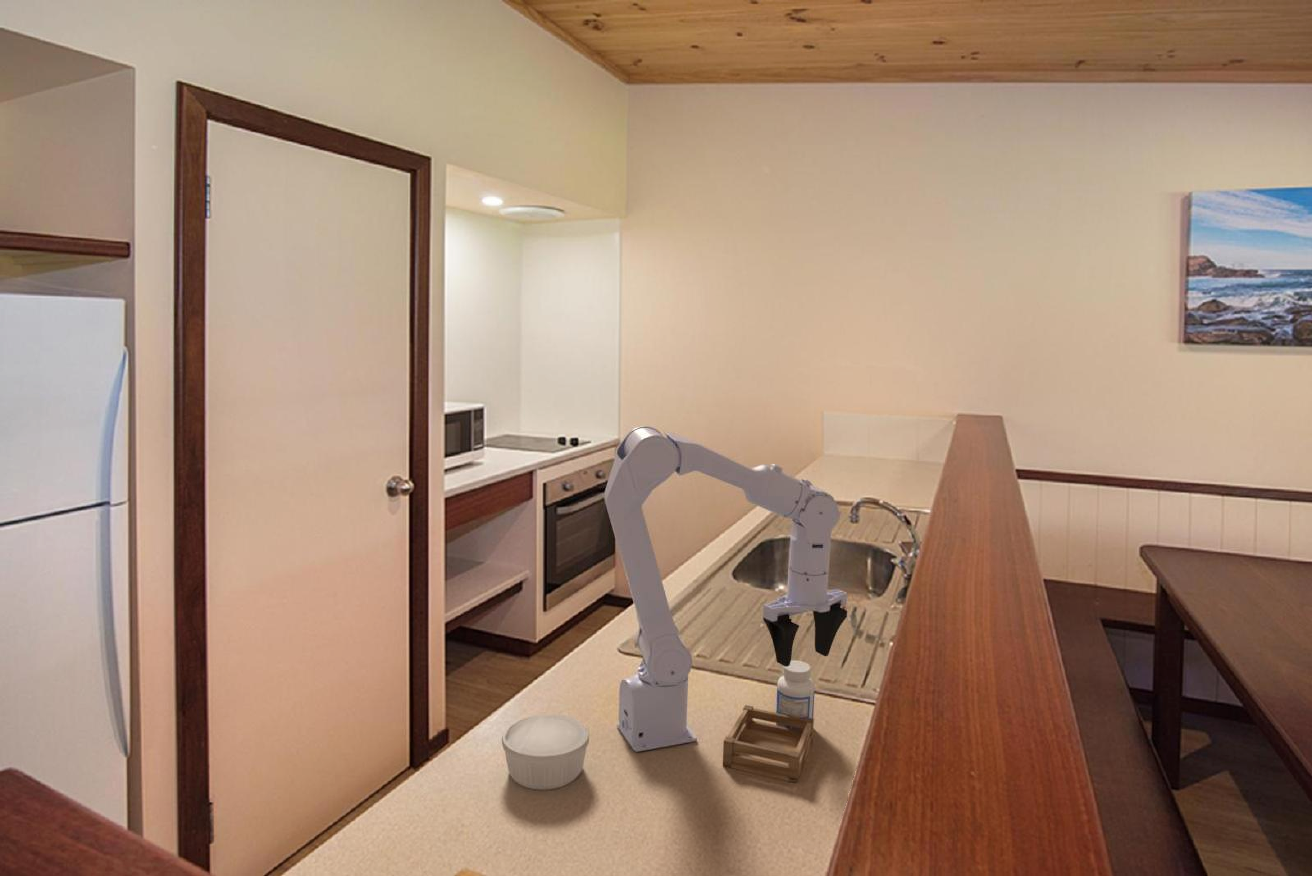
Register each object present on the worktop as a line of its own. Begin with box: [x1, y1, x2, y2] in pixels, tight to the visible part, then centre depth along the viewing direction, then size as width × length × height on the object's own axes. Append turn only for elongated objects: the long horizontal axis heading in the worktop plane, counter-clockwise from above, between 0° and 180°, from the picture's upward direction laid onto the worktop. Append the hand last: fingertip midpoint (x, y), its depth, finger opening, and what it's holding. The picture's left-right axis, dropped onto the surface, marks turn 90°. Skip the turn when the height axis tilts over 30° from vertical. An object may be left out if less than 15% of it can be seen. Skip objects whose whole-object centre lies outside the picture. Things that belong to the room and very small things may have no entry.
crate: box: [722, 704, 815, 784], centre depth 111 cm, size 11×10×4 cm
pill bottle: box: [775, 659, 816, 731], centre depth 118 cm, size 6×5×10 cm
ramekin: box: [501, 713, 590, 791], centre depth 106 cm, size 11×11×5 cm
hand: (802, 658), depth 119 cm, fingers open, 7 cm apart
